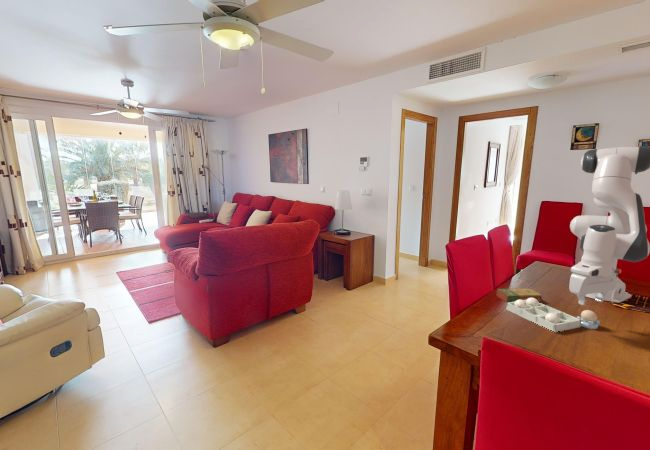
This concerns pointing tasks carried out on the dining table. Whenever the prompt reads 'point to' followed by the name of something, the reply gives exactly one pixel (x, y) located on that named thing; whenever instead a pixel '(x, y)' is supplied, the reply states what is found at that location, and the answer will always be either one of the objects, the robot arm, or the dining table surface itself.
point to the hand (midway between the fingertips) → (590, 302)
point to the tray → (539, 315)
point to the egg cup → (589, 323)
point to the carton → (517, 294)
